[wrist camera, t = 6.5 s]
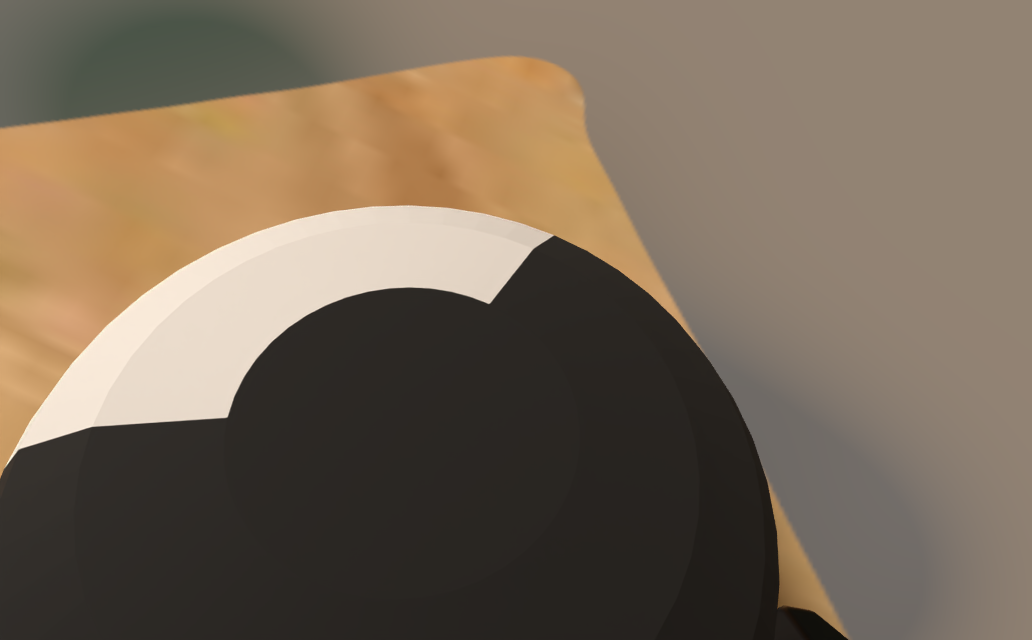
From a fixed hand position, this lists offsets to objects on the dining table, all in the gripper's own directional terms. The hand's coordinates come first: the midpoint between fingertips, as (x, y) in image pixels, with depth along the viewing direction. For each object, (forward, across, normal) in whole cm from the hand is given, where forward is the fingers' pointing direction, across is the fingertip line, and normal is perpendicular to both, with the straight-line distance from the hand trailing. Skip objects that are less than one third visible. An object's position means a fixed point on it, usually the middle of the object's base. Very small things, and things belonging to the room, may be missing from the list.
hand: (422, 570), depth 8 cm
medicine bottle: (+4, 0, +7) cm, 8 cm away
